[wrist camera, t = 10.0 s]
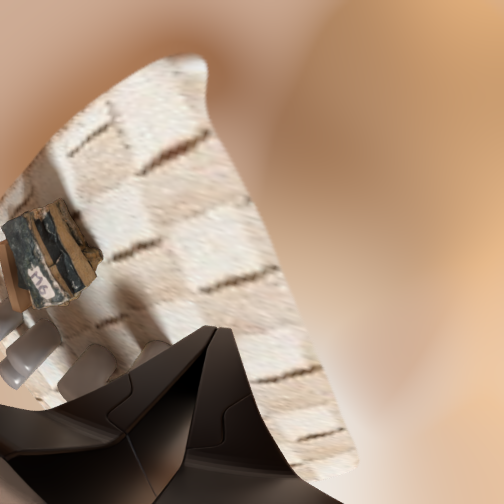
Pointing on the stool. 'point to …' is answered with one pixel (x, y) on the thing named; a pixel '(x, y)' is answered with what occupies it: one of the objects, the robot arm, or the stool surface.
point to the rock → (51, 255)
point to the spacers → (45, 342)
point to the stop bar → (13, 279)
